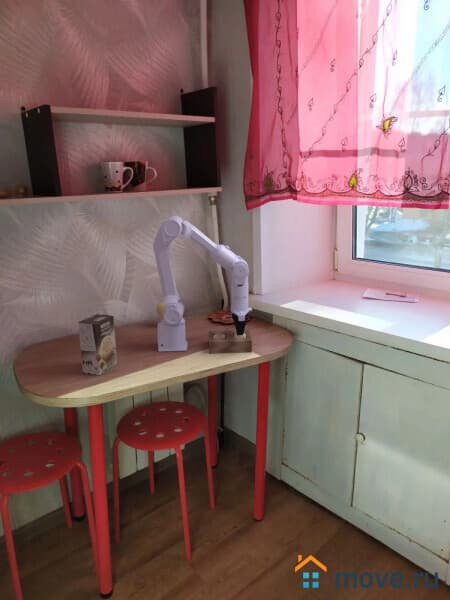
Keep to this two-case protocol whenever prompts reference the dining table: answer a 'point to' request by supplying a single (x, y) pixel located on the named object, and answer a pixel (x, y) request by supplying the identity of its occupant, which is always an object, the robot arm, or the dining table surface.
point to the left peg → (218, 336)
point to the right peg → (239, 336)
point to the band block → (229, 342)
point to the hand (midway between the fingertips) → (240, 334)
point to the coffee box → (97, 344)
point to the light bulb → (160, 310)
